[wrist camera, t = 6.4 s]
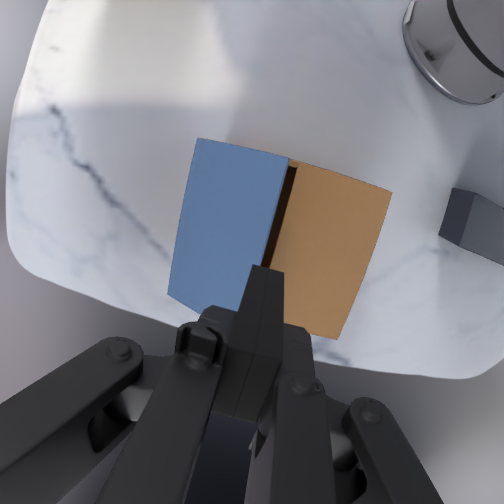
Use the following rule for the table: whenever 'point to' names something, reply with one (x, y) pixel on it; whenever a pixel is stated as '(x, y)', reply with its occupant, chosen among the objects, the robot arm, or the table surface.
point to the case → (474, 225)
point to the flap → (224, 223)
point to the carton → (323, 244)
